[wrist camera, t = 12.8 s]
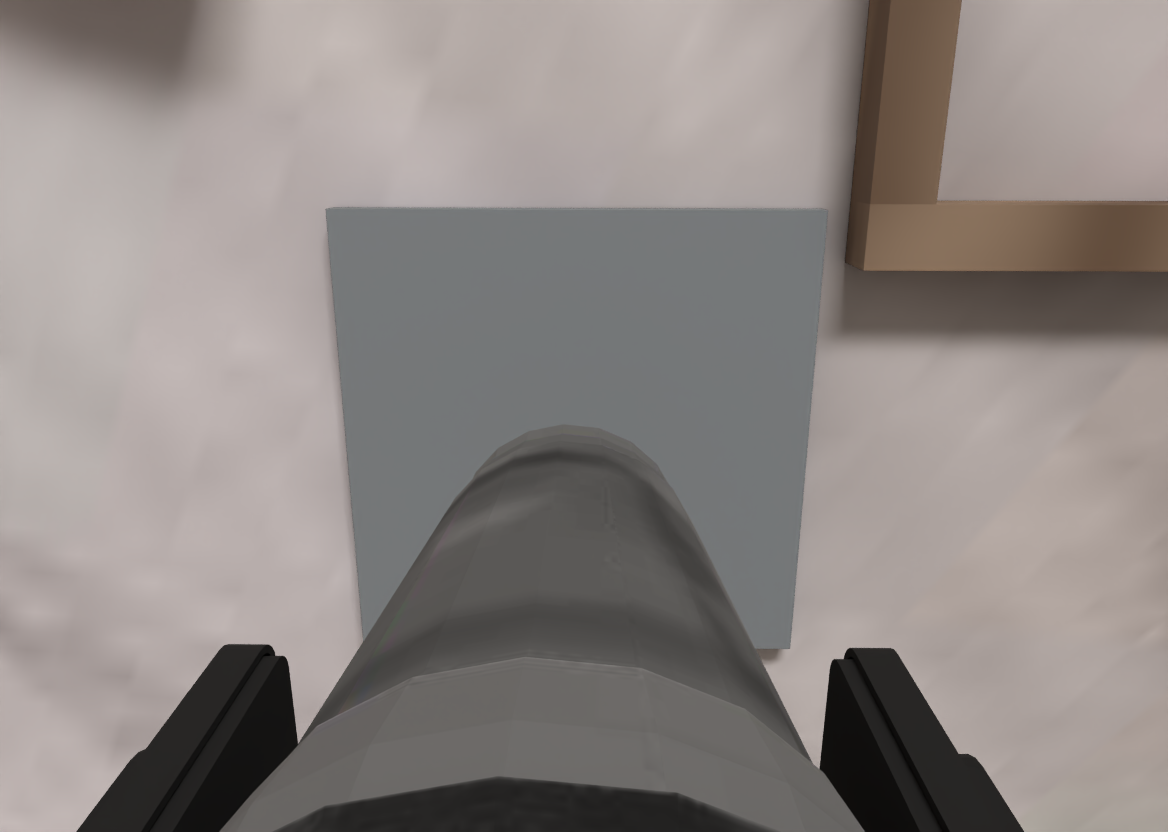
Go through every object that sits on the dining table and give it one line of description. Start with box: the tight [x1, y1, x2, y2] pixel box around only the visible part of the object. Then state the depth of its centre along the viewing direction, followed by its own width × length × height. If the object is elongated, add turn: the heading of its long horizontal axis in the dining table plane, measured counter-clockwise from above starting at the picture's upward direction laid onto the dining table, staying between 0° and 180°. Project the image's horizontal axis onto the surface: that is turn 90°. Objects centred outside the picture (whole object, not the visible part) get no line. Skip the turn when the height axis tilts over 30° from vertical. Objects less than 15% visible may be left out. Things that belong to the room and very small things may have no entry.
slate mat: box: [326, 207, 828, 649], centre depth 22 cm, size 12×12×1 cm
